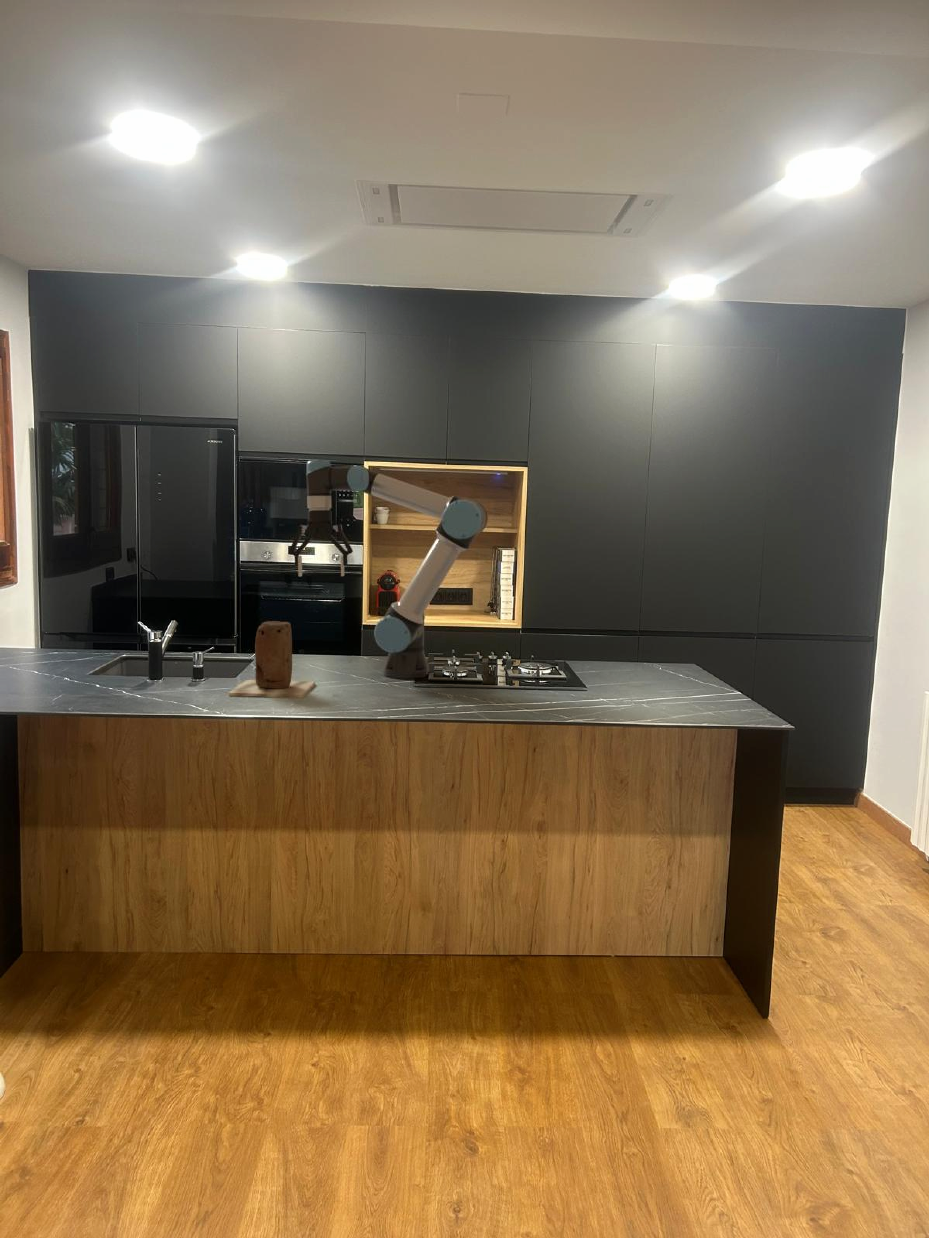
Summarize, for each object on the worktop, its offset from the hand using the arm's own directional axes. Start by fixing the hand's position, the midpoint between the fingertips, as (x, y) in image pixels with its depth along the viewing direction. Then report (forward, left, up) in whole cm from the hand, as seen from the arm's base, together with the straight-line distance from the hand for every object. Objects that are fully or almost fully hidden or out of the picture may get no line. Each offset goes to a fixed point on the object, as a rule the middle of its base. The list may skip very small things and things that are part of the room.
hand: (321, 576), depth 271 cm
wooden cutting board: (+11, +19, -34) cm, 40 cm away
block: (+11, +19, -33) cm, 39 cm away
